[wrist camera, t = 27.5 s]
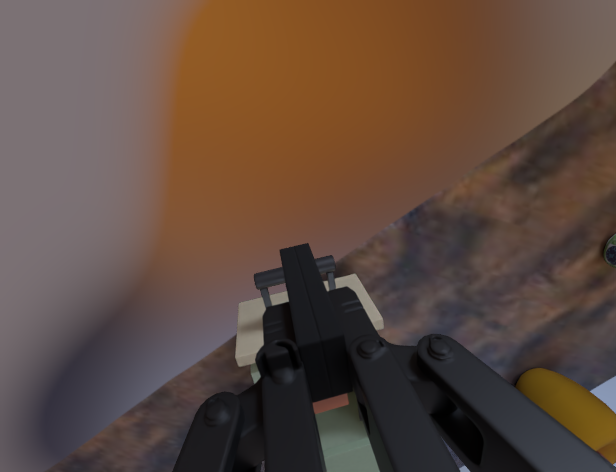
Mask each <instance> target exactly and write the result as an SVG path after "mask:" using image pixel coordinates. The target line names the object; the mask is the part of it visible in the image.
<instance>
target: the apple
mask: <svg viewBox="0 0 616 472" xmlns="http://www.w3.org/2000/svg"><path fill="white" fill-rule="evenodd" d="M515 388H516V389H518V390H519V391H520V392H521V393H523V394H524V395H525V396H526V397H528V398H529V399H530V400H531V401H533V402H534V403H535V404H537V405H538V406H539V407H540V408H542V409H543V410H544V411H545V412H547V413H548V414H549V415H550V416H552V417H553V418H554V419H556V420H557V421H558V422H559V423H561V424H562V425H563V426H564V427H566V428H567V429H568V430H569V431H571V432H572V433H573V434H575V435H576V436H577V437H578V438H580V439H581V440H582V441H583V442H585V443H586V444H587V445H588V446H590V447H591V448H592V449H593V450H595V451H596V452H597V453H599V454H600V455H601V456H602V457H604V458H605V459H606V460H607V461H609V462H610V463H611V464H612V465H613V464H614V463H616V414H615V413H614V412H613V411H612V410H611V409H610V408H609V407H608V406H607V405H606V404H605V403H604V402H603V401H601V400H600V399H599V398H597V397H596V396H595V395H593V394H592V393H591V392H590V391H588V390H587V389H586V388H584V387H582V386H581V385H579V384H578V383H576V382H574V381H573V380H571V379H569V378H567V377H565V376H563V375H561V374H559V373H556V372H553V371H550V370H547V369H544V368H534V369H530V370H528V371H526V372H525V373H524V374H522V375H521V376H520V378H519V380H518V382H517V384H516V386H515Z"/></svg>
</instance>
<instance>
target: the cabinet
mask: <svg viewBox="0 0 616 472" xmlns="http://www.w3.org/2000/svg"><path fill="white" fill-rule="evenodd" d="M323 455H324V460H325V465H326V469H327V472H380V471H379V468H378V465H377V462H376V459H375V456H374V453H373V450H372V447H371V444H370V441H369V438H368V437H366V438H363V439H359V440H356V441H353V442H349V443H346V444H343V445H339V446H336V447H333V448H329V449H326V450H323Z"/></svg>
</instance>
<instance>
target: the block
mask: <svg viewBox="0 0 616 472" xmlns="http://www.w3.org/2000/svg"><path fill="white" fill-rule="evenodd" d="M348 404H349V400H348V395H347V393H346V394H342V395H339V396H335V397H332V398H328V399H325V400H321V401H318V402H314V403H313V408H314V413H315V414H318V413H321V412H325V411H328V410H331V409H335V408H338V407H342V406H345V405H348Z"/></svg>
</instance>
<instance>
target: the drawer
mask: <svg viewBox="0 0 616 472" xmlns="http://www.w3.org/2000/svg"><path fill="white" fill-rule="evenodd" d="M315 262H316V264H317V267H318V269H319V272H320V274H323V273H326V275H327V281H324V285H325V287H326V290H327V291H329V290H333V289H337V288H341V287H345V286H347V287H349V288H350V289H352V290H353V291H355V292H356V294H357V296H358V298H359V300H360V302H361V303H362V305H363V308H364V309H365V311H366V313H367V314H368V316H369V318H370V320H371V322H372V324H373V326H374V327H375V329H376V330H379V329H383V328H384V326H383V318H382V316H381V315H380V313H379V312H378V310H377V308H376V307H375V305H374V303H373V302H372V300H371V298H370V297H369V295H368V293H367V292H366V290H365V289H364V287H363V285H362V284H361V282H360V280H359V279H358V277H357V275H356V274H352V275H348V276H344V277H340V278H336V279H335V278H334V272H333V271H335V270H336V265H335V261H334V258H333V256H332V255H330V256H326V257H321V258H317V259H315ZM254 281H255V285H256V288H257V289H258V290H259V289H260V291H261V295H262V297H261V298H256V299H252V300H248V301H244V302H240V303H239V307H238V323H237V338H236V353H235V359H236V361H237V364H238V366H239V367H242V366H246V365H249V364H251V376H252V379H253V381H254V384H255V383H256V382H257V381H258V380H259V378H260V377H261V376H260V373H259V371H258V368H257V365H256V362H255V358H256V354H257V352H258V351H259V349H260V348H261V347H262V346H263V345H264V341H263V320H262V316H263V314H264V312H265V310H266V308H267V307H269V306H273V305H277V304H281V303H285V302H289V299H288V294H287V291H285V292H281V293H276V294H272V295H269V292H268V288H267V287H271V286H275V285H279V284H283V283H285V277H284V272H283V267H280V268H276V269H272V270H268V271H264V272H260V273H256V274H254ZM352 387H353V386H352ZM347 395H348V400H349V404H348V405H345V406H342V407H338V408H335V409H331V410H328V411H325V412H321V413H318V414H315V416H316V421H317V425H318V430H319V435H320V440H321V445H322V450H326V449H329V448H333V447H336V446H339V445H343V444H346V443H349V442H353V441H356V440H359V439H363V438H366V437H368V435H367V433H366V430H365V427H364V424H363V421H360V418H359V412H358V405H357V399H356V395H355V392H354V389H353V392H350V393H347Z"/></svg>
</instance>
